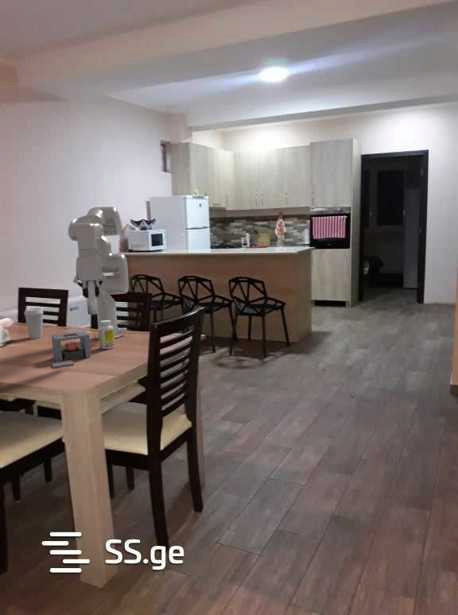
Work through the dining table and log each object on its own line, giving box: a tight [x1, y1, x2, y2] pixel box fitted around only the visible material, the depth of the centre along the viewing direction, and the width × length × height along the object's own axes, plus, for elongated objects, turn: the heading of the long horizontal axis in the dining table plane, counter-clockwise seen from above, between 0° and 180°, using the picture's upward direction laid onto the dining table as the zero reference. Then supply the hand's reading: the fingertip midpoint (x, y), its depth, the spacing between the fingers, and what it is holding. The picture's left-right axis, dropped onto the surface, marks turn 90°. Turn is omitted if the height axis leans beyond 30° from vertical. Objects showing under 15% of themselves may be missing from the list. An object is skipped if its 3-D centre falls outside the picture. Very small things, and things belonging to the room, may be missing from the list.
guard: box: [51, 330, 92, 362], centre depth 219 cm, size 14×9×10 cm, turn 119°
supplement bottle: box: [98, 320, 115, 350], centre depth 234 cm, size 7×7×13 cm
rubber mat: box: [50, 360, 75, 369], centre depth 208 cm, size 8×6×1 cm
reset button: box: [64, 341, 78, 351], centre depth 219 cm, size 5×5×3 cm
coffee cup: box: [23, 307, 44, 340], centre depth 262 cm, size 10×10×15 cm
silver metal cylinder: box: [86, 280, 98, 316], centre depth 211 cm, size 4×4×14 cm
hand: (91, 296), depth 211 cm, fingers closed on silver metal cylinder, 4 cm apart
